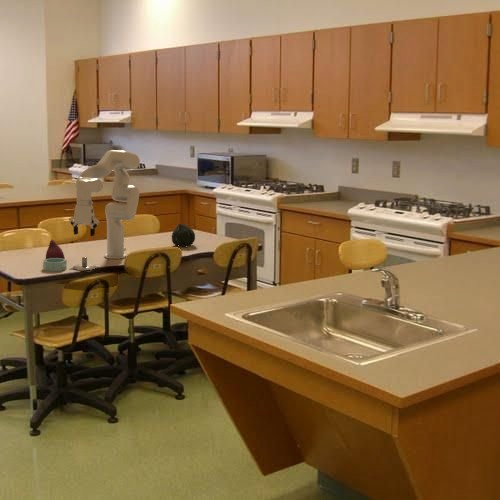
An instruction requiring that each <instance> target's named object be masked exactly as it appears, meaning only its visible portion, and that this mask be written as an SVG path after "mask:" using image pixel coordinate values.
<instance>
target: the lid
mask: <svg viewBox="0 0 500 500" xmlns="http://www.w3.org/2000/svg"><path fill="white" fill-rule="evenodd" d="M96 267H97V265H95V264H89V263H88V257H87V256H82V257H81V264H80V263H79V264H75V265H73V267H72V268H73V269H75V270H74V271H79V270H80V271H82V272H85V271H84V270H92V269H94V270H96V269H95V268H96ZM80 271H79V272H80ZM92 271H93V270H92Z"/></svg>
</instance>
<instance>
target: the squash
mask: <svg viewBox="0 0 500 500" xmlns="http://www.w3.org/2000/svg"><path fill="white" fill-rule="evenodd" d="M195 241H196V234H195V232H194V230H193V229H192V228H190V227H189V226H187V225H185V224H182V223H178V224H177V226H176V227H175V228H174V229H173V231H172V234H171V242H172V243H173V244H174V246H176V245H177V247H181V246H184V247H185V246H188V247H189V246H191V245H193V244H194V243H195ZM178 245H179V246H178Z"/></svg>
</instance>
